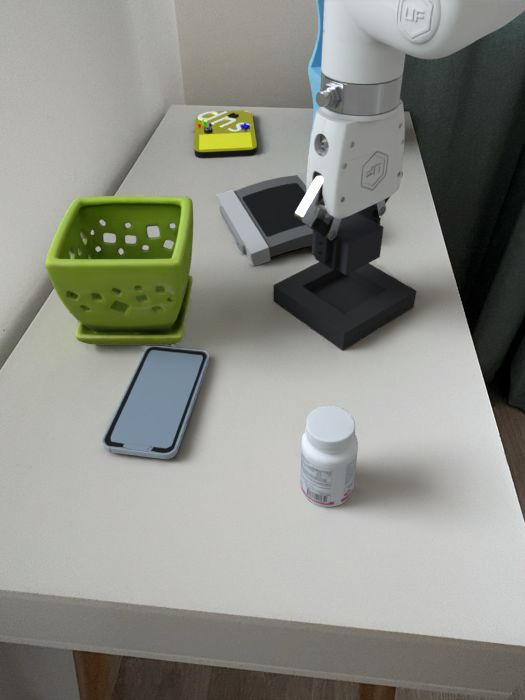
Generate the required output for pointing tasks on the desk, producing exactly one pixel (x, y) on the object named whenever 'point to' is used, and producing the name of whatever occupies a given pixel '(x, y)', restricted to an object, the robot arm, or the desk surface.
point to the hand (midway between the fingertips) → (346, 252)
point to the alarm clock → (267, 217)
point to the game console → (224, 134)
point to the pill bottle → (328, 456)
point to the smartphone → (157, 403)
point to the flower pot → (125, 269)
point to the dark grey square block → (356, 242)
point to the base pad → (344, 301)
